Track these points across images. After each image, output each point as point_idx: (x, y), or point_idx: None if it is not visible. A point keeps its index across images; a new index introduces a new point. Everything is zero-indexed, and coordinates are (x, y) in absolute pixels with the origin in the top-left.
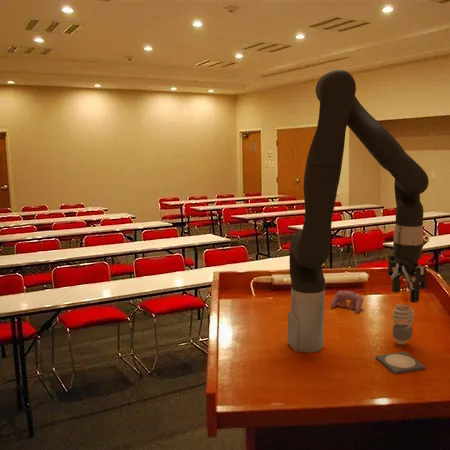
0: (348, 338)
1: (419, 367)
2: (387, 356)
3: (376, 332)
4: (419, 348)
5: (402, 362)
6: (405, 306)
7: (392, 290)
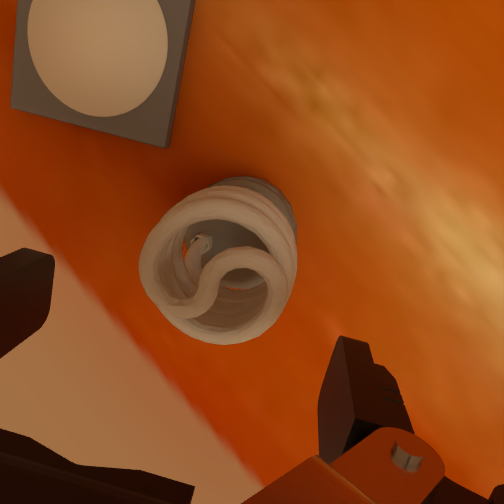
0: (474, 19)
1: (13, 74)
2: (159, 16)
3: (430, 223)
4: (184, 255)
5: (77, 35)
6: (198, 290)
7: (362, 343)
